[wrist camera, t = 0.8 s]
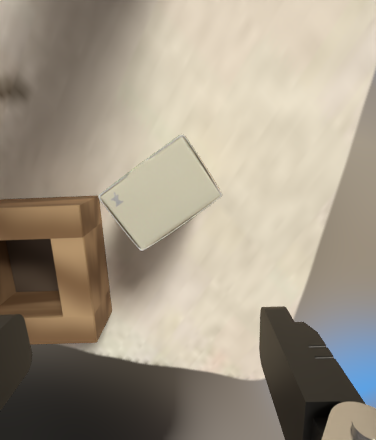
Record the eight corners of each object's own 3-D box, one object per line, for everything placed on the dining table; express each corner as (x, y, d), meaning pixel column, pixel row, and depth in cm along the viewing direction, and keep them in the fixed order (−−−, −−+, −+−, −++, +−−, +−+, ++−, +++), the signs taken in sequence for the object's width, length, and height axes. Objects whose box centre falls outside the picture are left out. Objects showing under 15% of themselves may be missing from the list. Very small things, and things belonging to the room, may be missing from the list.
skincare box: (159, 213, 29) (137, 257, 17) (133, 178, 28) (90, 199, 16) (211, 177, 28) (226, 196, 16) (186, 139, 27) (182, 131, 15)
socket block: (-29, 200, 29) (-77, 211, 24) (98, 195, 28) (78, 205, 23) (-3, 314, 32) (-41, 346, 27) (112, 311, 32) (96, 342, 26)
